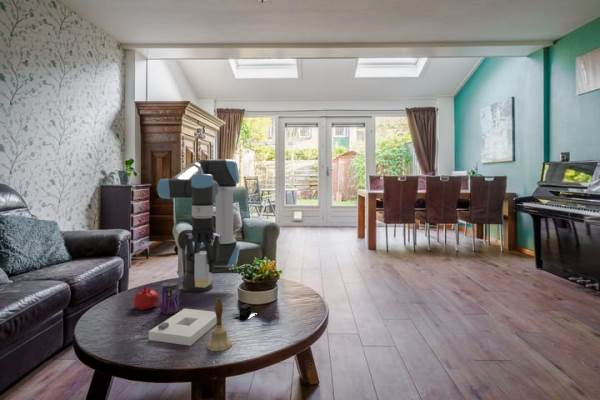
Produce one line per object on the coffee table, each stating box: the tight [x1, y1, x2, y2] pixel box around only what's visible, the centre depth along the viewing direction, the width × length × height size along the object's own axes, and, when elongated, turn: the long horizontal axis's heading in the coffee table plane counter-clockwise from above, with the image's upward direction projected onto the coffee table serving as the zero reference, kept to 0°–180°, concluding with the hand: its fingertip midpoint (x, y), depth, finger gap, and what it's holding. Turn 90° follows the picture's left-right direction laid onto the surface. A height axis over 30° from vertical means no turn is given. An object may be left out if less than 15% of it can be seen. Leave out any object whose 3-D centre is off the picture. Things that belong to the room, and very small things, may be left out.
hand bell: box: [206, 297, 233, 352], centre depth 117 cm, size 8×8×16 cm
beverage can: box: [160, 280, 180, 315], centre depth 146 cm, size 7×7×12 cm
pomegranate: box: [132, 286, 160, 311], centre depth 151 cm, size 10×10×9 cm
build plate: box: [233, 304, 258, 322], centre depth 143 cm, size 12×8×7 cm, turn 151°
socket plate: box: [148, 307, 217, 347], centre depth 129 cm, size 22×16×4 cm
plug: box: [195, 251, 213, 288], centre depth 128 cm, size 5×4×12 cm
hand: (203, 280), depth 129 cm, fingers closed on plug, 4 cm apart
